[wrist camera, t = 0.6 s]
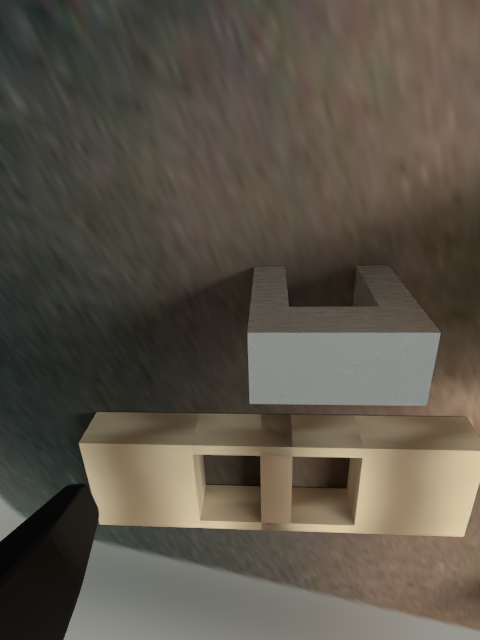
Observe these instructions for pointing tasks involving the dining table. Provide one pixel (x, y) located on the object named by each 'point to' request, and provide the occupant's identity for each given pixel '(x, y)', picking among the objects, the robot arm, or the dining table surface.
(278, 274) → the clip
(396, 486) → the rail
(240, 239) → the dining table surface
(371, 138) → the dining table surface
